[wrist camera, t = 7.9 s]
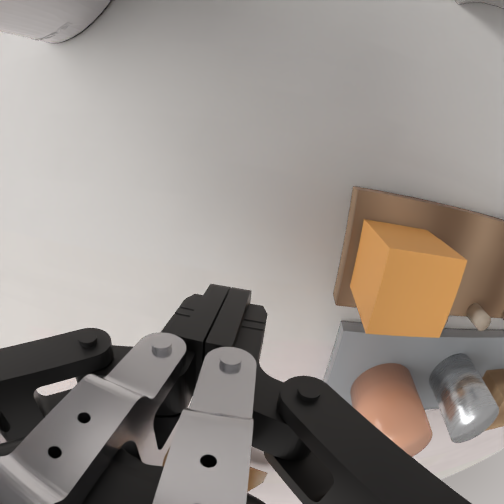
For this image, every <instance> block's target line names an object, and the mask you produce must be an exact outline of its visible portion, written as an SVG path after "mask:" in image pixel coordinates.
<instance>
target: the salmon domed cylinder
mask: <svg viewBox="0 0 504 504" xmlns="http://www.w3.org/2000/svg"><path fill="white" fill-rule="evenodd" d="M350 395H351V402H352V407H354V408H355V409H356V410H357V411H358V412H359V413H360V414H362V415H363V416H364V417H365V418H366V419H367V420H368V421H370V422H371V423H372V424H373V425H374V426H375V427H376V428H378V429H379V430H380V431H381V432H382V433H384V434H385V435H386V436H387V437H388V438H389V439H391V440H392V441H393V442H394V443H395V444H397V445H398V446H399V447H400V448H401V449H403V450H404V451H405V452H406V453H407V454H409V455H410V456H411V457H413V456H414V455H416V454H417V453H419V452H420V451H421V450H423V449H424V448H425V447H426V446H427V445H428V443H429V442H430V440H431V438H432V430H431V427H430V424H429V421H428V419H427V416H426V413H425V410H424V407H423V405H422V402H421V399H420V396H419V394H418V391H417V388H416V386H415V383H414V381H413V378H412V376H411V373H410V371H409V370H408V369H407V368H406V367H405V366H403V365H401V364H397V363H386V364H381V365H377V366H375V367H372V368H370V369H368V370H366V371H365V372H363V373H362V374H361V375H360V376H359V377H357V379H356V380H355V381H354V383H353V384H352V387H351V390H350Z"/></svg>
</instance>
